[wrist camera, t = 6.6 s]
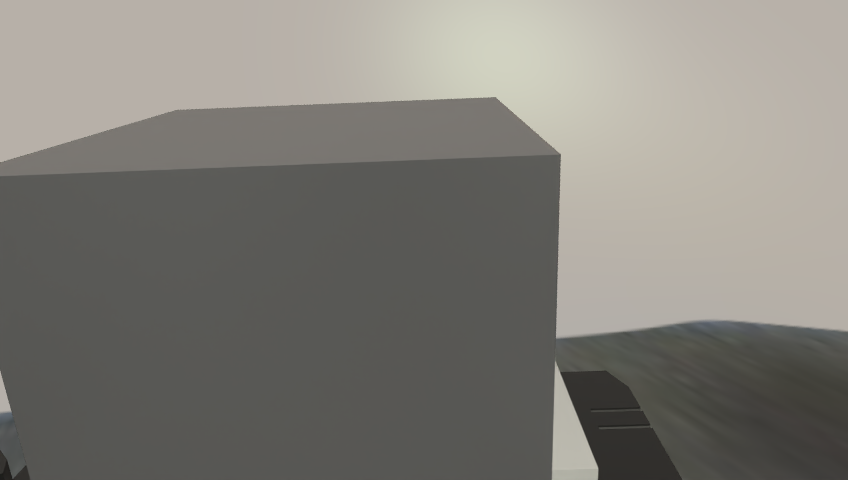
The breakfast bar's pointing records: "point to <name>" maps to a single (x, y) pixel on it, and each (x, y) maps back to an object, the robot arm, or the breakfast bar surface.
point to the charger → (285, 296)
